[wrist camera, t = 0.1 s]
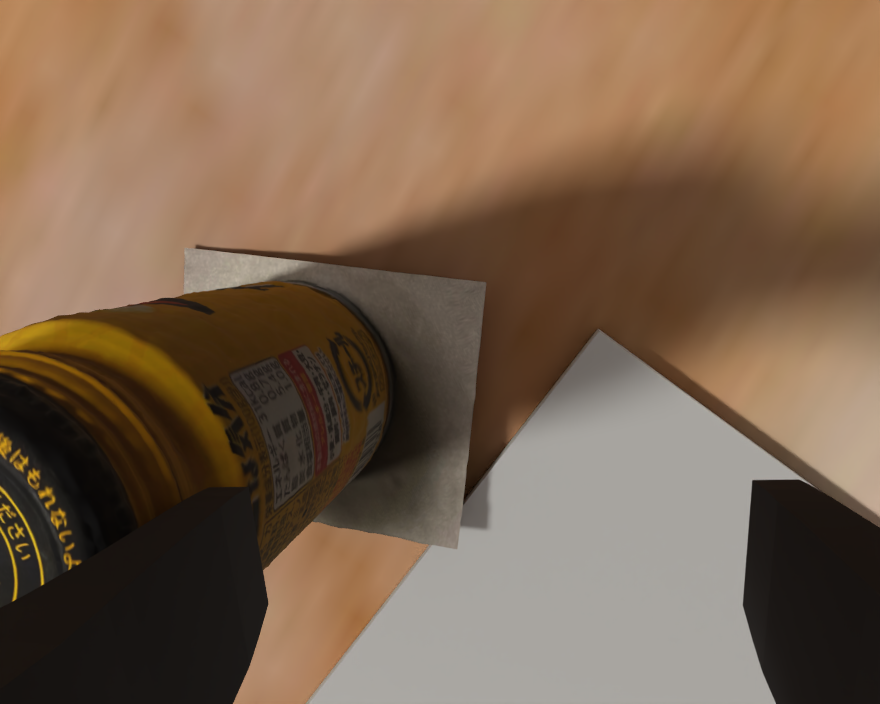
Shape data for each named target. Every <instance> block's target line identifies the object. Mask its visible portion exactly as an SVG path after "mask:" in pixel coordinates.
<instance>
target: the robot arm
mask: <svg viewBox="0 0 880 704" xmlns="http://www.w3.org/2000/svg"><path fill="white" fill-rule="evenodd" d="M267 607H268V598H267V592H266V586H265V581H264V575H263V569H262V563H261V557H260V551H259V545H258V539H257V533H256V527H255V522H254V516H253V510H252V504H251V498H250V492H249V487H208V488H206V489H204V490H202V491H200V492H198V493H196V494H194V495H192V496H190V497H189V498H187V499H185V500H183V501H182V502H180V503H178V504H177V505H175V506H173V507H172V508H170V509H168V510H167V511H165V512H163V513H162V514H160V515H159V516H157V517H155V518H154V519H152V520H151V521H149V522H147V523H146V524H144V525H143V526H141V527H139V528H138V529H136V530H134V531H133V532H131V533H130V534H128V535H126V536H125V537H123V538H122V539H120V540H118V541H117V542H115V543H113V544H112V545H110V546H109V547H107V548H105V549H104V550H102V551H101V552H99V553H97V554H96V555H94V556H92V557H90V558H89V559H87V560H85V561H83V562H82V563H80V564H78V565H76V566H75V567H73V568H71V569H70V570H68V571H66V572H64V573H63V574H61V575H59V576H57V577H56V578H54V579H52V580H50V581H49V582H47V583H45V584H43V585H42V586H40V587H38V588H36V589H35V590H33V591H31V592H29V593H28V594H26V595H24V596H22V597H20V598H18V599H16V600H14V601H12V602H11V603H9V604H7V605H5V606H3V607H1V608H0V704H233V702H234V700H235V698H236V695H237V693H238V691H239V689H240V687H241V684H242V682H243V680H244V678H245V675H246V673H247V671H248V668H249V666H250V663H251V660H252V657H253V654H254V651H255V647H256V644H257V641H258V638H259V635H260V631H261V628H262V624H263V621H264V617H265V614H266V610H267ZM743 608H744V612H745V615H746V619H747V622H748V626H749V630H750V633H751V637H752V640H753V644H754V647H755V650H756V653H757V656H758V660H759V663H760V666H761V669H762V672H763V675H764V677H765V680H766V682H767V684H768V687H769V689H770V691H771V693H772V696H773V698H774V700H775V702H776V704H880V528H879V527H878V526H876V525H874V524H873V523H871V522H870V521H868V520H866V519H865V518H863V517H862V516H860V515H858V514H857V513H855V512H854V511H852V510H851V509H849V508H847V507H846V506H844V505H843V504H841V503H839V502H838V501H836V500H834V499H833V498H831V497H830V496H828V495H826V494H825V493H823V492H821V491H820V490H818V489H816V488H814V487H813V486H811V485H809V484H807V483H805V482H803V481H801V480H799V479H794V480H752V490H751V503H750V516H749V529H748V542H747V555H746V568H745V581H744V594H743Z"/></svg>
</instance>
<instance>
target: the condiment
mask: <svg viewBox="0 0 880 704" xmlns="http://www.w3.org/2000/svg"><path fill="white" fill-rule="evenodd" d="M485 291H486V282H479V281H471V280H461V279H452V278H444V277H436V276H427V275H417V274H408V273H398V272H390V271H384V270H374V269H366V268H358V267H349V266H341V265H333V264H325V263H316V262H308V261H299V260H290V259H281V258H273V257H264V256H256V255H247V254H237V253H229V252H221V251H212V250H202V249H192V248H185V266H184V295H182V296H179V297H175V298H160V299H158V300H154V301H150V302H143V303H140V304H136V305H128V306H125V307H119V308H113V309H103V310H100V309H99V310H95V311H92V312H89V313H76V314H73V315H61V316H56V317H54V318H51V319H49V320H46V321H43V322H39V323H34V324H31V325H28V326H26V327H24V328H22V329H19V330H16V331H13V332H10V333H7V334H4V335H2V336H1V337H0V608H1V607H3V606H5V605H7V604H9V603H11V602H12V601H14V600H16V599H18V598H20V597H22V596H24V595H26V594H28V593H29V592H31V591H33V590H35V589H36V588H38V587H40V586H42V585H43V584H45V583H47V582H49V581H50V580H52V579H54V578H56V577H57V576H59V575H61V574H63V573H64V572H66V571H68V570H70V569H71V568H73V567H75V566H76V565H78V564H80V563H82V562H83V561H85V560H87V559H89V558H90V557H92V556H94V555H96V554H97V553H99V552H101V551H102V550H104V549H105V548H107V547H109V546H110V545H112V544H113V543H115V542H117V541H118V540H120V539H122V538H123V537H125V536H126V535H128V534H130V533H131V532H133V531H134V530H136V529H138V528H139V527H141V526H143V525H144V524H146V523H147V522H149V521H151V520H152V519H154V518H155V517H157V516H159V515H160V514H162V513H163V512H165V511H167V510H168V509H170V508H172V507H173V506H175V505H177V504H178V503H180V502H182V501H183V500H185V499H187V498H189V497H190V496H192V495H194V494H196V493H198V492H200V491H202V490H204V489H206V488H208V487H249V492H250V498H251V504H252V510H253V516H254V522H255V527H256V533H257V539H258V545H259V551H260V557H261V563H262V569H263V570H264V569H265V568H266V567H268V566H269V565H270V563H271V562H272V561H273V560H274V559H275V558H276V557H277V556H278V555H279V554H280V553H281V552H282V551H283V550H284V549H285V548H286V547H287V546H288V545H289V543H290V542H291V541H292V540H293V539H294V538H296V536H298V535H299V534H300V533H301V532H302V530H303V529H304V528H305V527H307V526H308V525H309V524H310V523H311V522H312V521H313V522H320V523H324V524H327V525H330V526H334V527H338V528H348V529H355V530H360V531H364V532H368V533H377V534H383V535H387V536H393V537H398V538H402V539H406V540H410V541H414V542H418V543H422V544H428V545H436V546H441V547H446V548H452V549H457V548H458V541H459V532H460V520H461V516H462V508H463V498H464V490H465V481H466V468H467V462H468V456H469V445H470V436H471V426H472V416H473V407H474V400H475V395H476V377H477V367H478V358H479V350H480V341H481V332H482V319H483V310H484V300H485Z"/></svg>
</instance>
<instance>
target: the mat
mask: <svg viewBox="0 0 880 704" xmlns="http://www.w3.org/2000/svg"><path fill="white" fill-rule="evenodd" d="M794 479H799V480H801V481H803V482H805V483H807V484H809V485H811V486H813V485H812V484H811V483H809V482H808V481H807V480H805V479H804V478H802V477H801V476H800V475H798V474H797V473H796V472H794V471H793V470H791V469H790V468H789V467H787V466H786V465H785V464H783V463H782V462H780V461H779V460H778V459H776V458H775V457H774V456H772V455H771V454H770V453H768V452H767V451H765V450H764V449H763V448H761V447H760V446H759V445H757V444H756V443H754V442H753V441H752V440H750V439H749V438H748V437H746V436H745V435H743V434H742V433H741V432H739V431H738V430H737V429H735V428H734V427H733V426H731V425H730V424H728V423H727V422H726V421H724V420H723V419H722V418H720V417H719V416H717V415H716V414H715V413H713V412H712V411H711V410H709V409H708V408H706V407H705V406H704V405H702V404H701V403H700V402H698V401H697V400H696V399H694V398H693V397H691V396H690V395H689V394H687V393H686V392H685V391H683V390H682V389H680V388H679V387H678V386H676V385H675V384H674V383H672V382H671V381H669V380H668V379H667V378H665V377H664V376H663V375H661V374H660V373H659V372H657V371H656V370H654V369H653V368H652V367H650V366H649V365H648V364H646V363H645V362H643V361H642V360H641V359H639V358H638V357H637V356H635V355H634V354H632V353H631V352H630V351H628V350H627V349H626V348H624V347H623V346H622V345H620V344H619V343H617V342H616V341H615V340H613V339H612V338H611V337H609V336H608V335H606V334H605V333H604V332H602V331H601V330H600V329H597V330H596V332H595V333H594V334H593V336H592V337H591V338H590V339H589V341H588V342H587V343H586V345H585V346H584V347H583V348H582V350H581V351H580V352H579V354H578V355H577V356H576V357H575V359H574V360H573V361H572V363H571V364H570V365H569V366H568V368H567V369H566V370H565V372H564V373H563V374H562V375H561V377H560V378H559V379H558V381H557V382H556V383H555V384H554V386H553V387H552V388H551V389H550V391H549V392H548V393H547V395H546V396H545V397H544V398H543V400H542V401H541V402H540V404H539V405H538V406H537V407H536V409H535V410H534V411H533V413H532V414H531V415H530V416H529V418H528V419H527V420H526V422H525V423H524V424H523V425H522V427H521V428H520V429H519V431H518V432H517V433H516V434H515V436H514V437H513V438H512V440H511V441H510V442H509V443H508V445H507V446H506V447H505V449H504V450H503V451H502V452H501V454H500V455H499V456H498V457H497V459H496V460H495V461H494V463H493V464H492V465H491V466H490V468H489V469H488V470H487V472H486V473H485V474H484V475H483V477H482V478H481V479H480V481H479V482H478V483H477V484H476V486H475V487H474V488H473V490H472V491H471V492H470V493H469V495H468V496H467V497H466V499H465V500H464V501H463V508H462V516H461V520H460V532H459V541H458V548H457V549H452V548H446V547H441V546H436V545H429V546H428V547H427V549H426V550H425V551H424V552H423V554H422V555H421V556H420V558H419V559H418V560H417V561H416V563H415V564H414V565H413V567H412V568H411V569H410V570H409V572H408V573H407V574H406V576H405V577H404V578H403V579H402V581H401V582H400V583H399V585H398V586H397V587H396V588H395V590H394V591H393V592H392V593H391V595H390V596H389V597H388V599H387V600H386V601H385V602H384V604H383V605H382V606H381V608H380V609H379V610H378V611H377V613H376V614H375V615H374V617H373V618H372V619H371V620H370V622H369V623H368V624H367V626H366V627H365V628H364V629H363V631H362V632H361V633H360V635H359V636H358V637H357V638H356V640H355V641H354V642H353V644H352V645H351V646H350V647H349V649H348V650H347V651H346V652H345V654H344V655H343V656H342V658H341V659H340V660H339V661H338V663H337V664H336V665H335V667H334V668H333V669H332V670H331V672H330V673H329V674H328V676H327V677H326V678H325V679H324V681H323V682H322V683H321V685H320V686H319V687H318V688H317V690H316V691H315V692H314V694H313V695H312V696H311V697H310V699H309V700H308V701H307V703H306V704H776V702H775V700H774V698H773V696H772V693H771V691H770V689H769V687H768V684H767V682H766V680H765V677H764V675H763V672H762V669H761V666H760V663H759V660H758V656H757V653H756V650H755V647H754V644H753V640H752V637H751V633H750V630H749V626H748V622H747V619H746V615H745V612H744V608H743V594H744V581H745V568H746V555H747V542H748V529H749V516H750V503H751V490H752V480H794ZM813 487H814V488H816V487H815V486H813ZM816 489H817V488H816ZM818 490H819V489H818ZM821 492H822V491H821Z"/></svg>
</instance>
